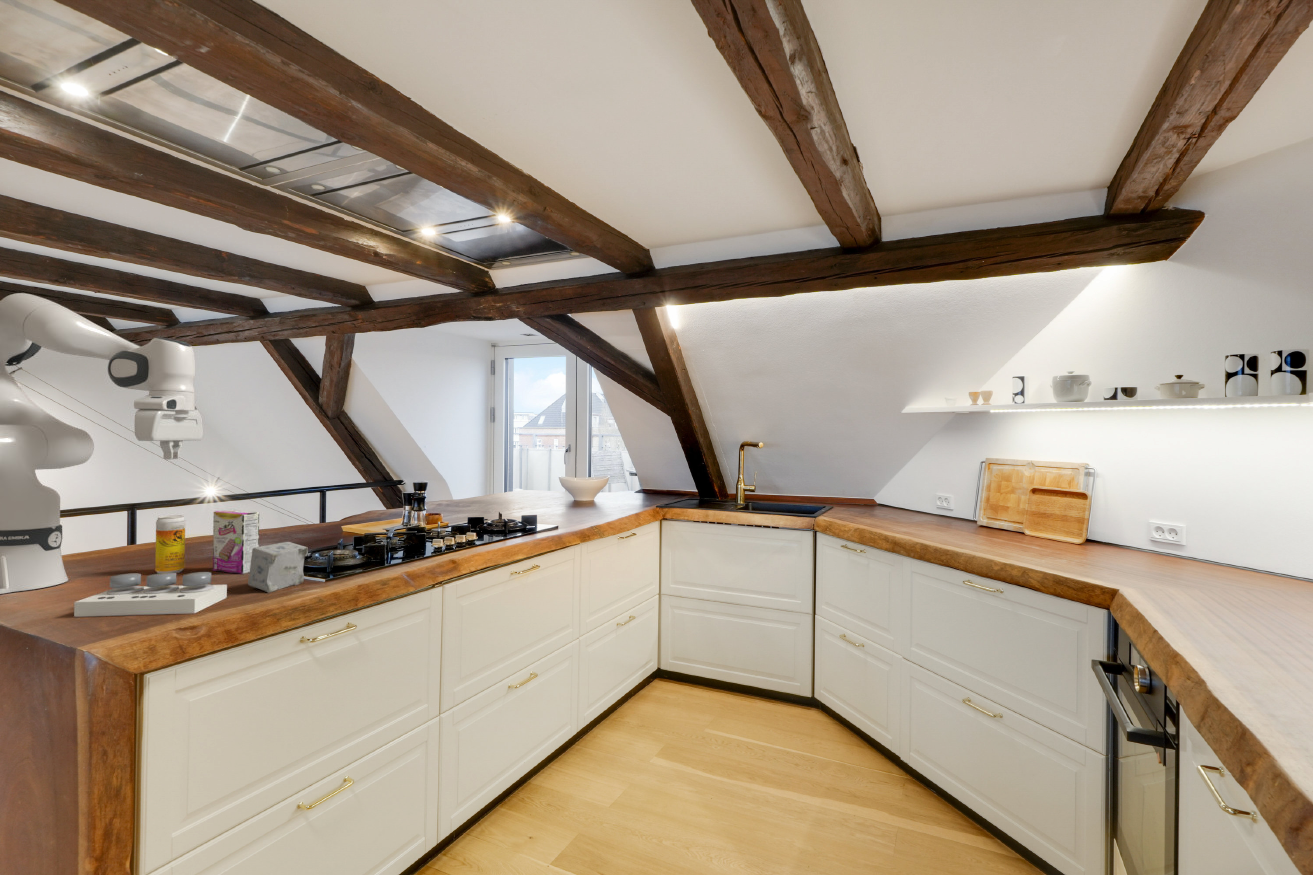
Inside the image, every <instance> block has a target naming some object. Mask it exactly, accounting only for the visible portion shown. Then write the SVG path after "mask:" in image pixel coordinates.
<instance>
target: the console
mask: <svg viewBox="0 0 1313 875" xmlns="http://www.w3.org/2000/svg"><path fill="white" fill-rule="evenodd" d="M227 590H228V584H210V583H209V584H206V585H201V586H189V587H188V586H183V585H176V584H173V585H169V586H164V587H147V585H146V586H145V585H144V586H141V585H137V586H132V587H126V588H111V589H108V590H105V591H103V592H101V593H97V594H94V595H91V596H88V597H86V598H83V599H80V600H76V601H74V605H73V606H74V607H73V608H74V611H73V613H74V614H73V615H74V618H75V617H77V618H79V617H106V616H107V617H112V616H113V617H114V616H115V617H117V616H142V615H143V616H145V615H146V616H151V615H174V614H175V615H180V614H181V615H183V614H185V615H186V614H196V613H198V612H199V611H202V610H204V609H206V608H208V607H210V606H212V605H215V604H217V603H218V602H220V601H223V600H225V599H227V597H228V596H227V595H228V593H227V592H228V591H227Z"/></svg>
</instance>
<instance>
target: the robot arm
mask: <svg viewBox="0 0 1313 875" xmlns="http://www.w3.org/2000/svg"><path fill="white" fill-rule="evenodd" d="M42 348H44V349H47V350H50V351H53V352H57V353H60V354H65V355H71V356H72V355H73V356H78V357H87V358H94V359H101V360H106V361H108V364H107V373H108V376H109V379H110V380H111V382H112V383H113V384H114V385H116V386H118V387H120V388H124V389H127V390H135V391H136V390H138V391H147V392H148V394H147V395H145V396H143V397H140V398H137V399H135V400H134V401H133V408H134V409H136V411H135V415H134V435H135V437H136V440H138V442H139V441H140V442H159V446H160V448H161V450H162V452H163V456H162V458H163V459H164V460H179V458H180V452H181V450H182V448H183V443H184V441H186V442H187V441H189V442H190V441H201V440H202V439H203V437H204V427H203V425H204V424H203V418H202V414H201V413H200V411H199V410H198V408H197V406H196V402H195V401H196V391H195V386H194V381H195V377H196V357H195V356H196V355H195V352H194V349H193V346H192V345H191V343H190V344H189V343H188V342H186V341H182V340H177V339H173V338H167V337H160V336H158V337H154V338H152V339H151V340H150V342H148V343H146V344H144V345H142V346H141V345H139V344H137V343H135V342H133V341H130V340H128V339H126V338H124V337H122V336H119V335H117V334H115V333H113V332H111V331H110V330H107V329H106V328H104V327H102V326H101V325H98V324H96V323H94V322H93V321H91V320H89V319H87V318H85V317H84V316H82V315H80V314H78V313H77V312H75V311H73V310H71V309H69V308H68V307H66V306H63V305H61V304H59V303H57V302H54V301H53V300H50V299H47V298H45V297H41V296H37V295H36V294H35V295H34V294H30V293H25V292H20V293H19V292H17V293H13V294H9V295H6V296H5V297H3V298H2V299H1V300H0V595H1V594H2V595H3V594H7V593H13V592H21V591H22V592H24V591H31V590H36V589H42V588H48V587H53V586H56V585H60V584H64V583H66V582H68V581H69V578H68V575H67V573H66V570H65V566H64V561H63V556H62V549H61V546H62V542H63V525H62V524H61V496H60V494H59V493H58V492H57V490H55V489H53V488H51V487H49V486H46V485H45V484H42V482H41V481H40V480H39V479H38V477H37V474H36V470H37V471H38V470H55V469H56V470H57V469H65V468H70V467H71V468H72V467H75V466H80V465H83V464H85V463H87V462H88V461H89V460H90V458H92V456H93V454H94V450H95V442H94V441H93V438H92V437H91V435H90V434H89V432H87V431H86V430H83V429H81V428H78V427H75V426H72V425H70V424H67V423H66V422H64V421H62V420H60V419H58V418H56V417H55V416H53V415H52V414H50V413H48V412H47V411H46V410H44V409H42V408H41V407H40V406H38V405H37V404H36V403H35V402H33V401H32V400H31V399H30V398H29V396H28V395H27V394H26V393H25V392H24V390H23V389H22V388H21V387H20V386H19V384H18V383H17V382H16V380H15V378H14V377H13V376H12V375H11V374H10V372H8V370H7V367H14V366H18V365H20V364H21V363H22V362H24V361H27V360H28V359H29V360H30V359H31V358H32V357H34V356H35V355H36V354H38V353H39V351H41V349H42ZM6 366H7V367H6Z"/></svg>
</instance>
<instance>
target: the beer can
mask: <svg viewBox="0 0 1313 875" xmlns="http://www.w3.org/2000/svg"><path fill="white" fill-rule="evenodd" d="M185 552H186V519H185V517H184V515H183V514H182V515H179V514H178V515H177V514H175V515H163V516H157V519H156V521H155V558H154V559H155V562H154V563H155V565H154V566H155V568H154V570H155V572H156V573H157V574H159V573H176V574H178V573H181V572H183V570H184V569H185V567H186V566H185V565H186V564H185V563H186V562H185V560H186V558H185V557H186V553H185Z"/></svg>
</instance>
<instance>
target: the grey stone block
mask: <svg viewBox="0 0 1313 875" xmlns="http://www.w3.org/2000/svg"><path fill="white" fill-rule="evenodd" d="M308 549H309V548H308V546H304V545H301V544H297V543H294V542H291V541H283V542H278V543H273V544H268V545H261V546H260V545H259V547H254V548H253V549H252V556H251V565H250V573H248V581H247V585H248V586H250V587H252V588H255V589H260V590H262V591H264V592H266V593H269V594H270V593H273V592H275V591H277V590H282V589H283V588H288V587H291V586H297V585H300V584H302V583H304V578H305V575H304V564H305V557H307V556H308V553H309V551H308Z"/></svg>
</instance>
